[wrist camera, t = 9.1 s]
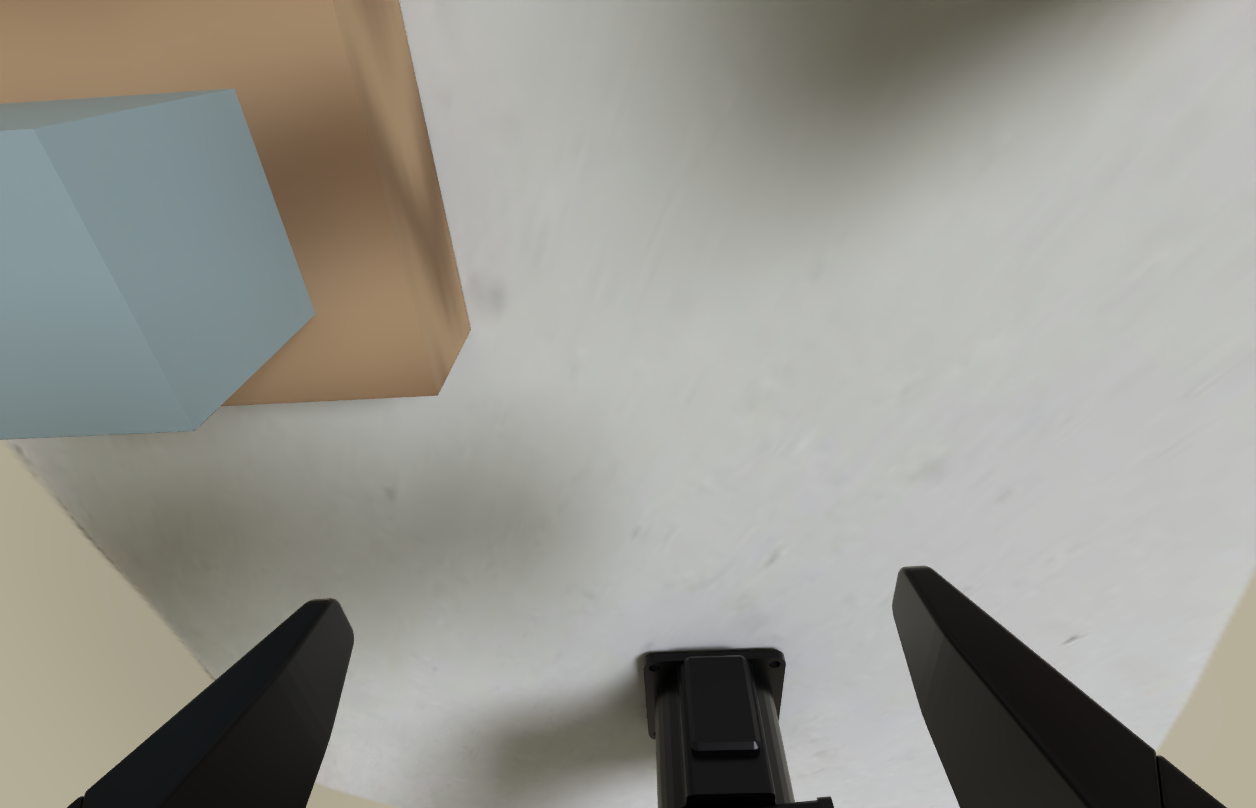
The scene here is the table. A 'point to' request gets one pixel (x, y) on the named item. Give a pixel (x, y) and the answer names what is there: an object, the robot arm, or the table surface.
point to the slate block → (136, 264)
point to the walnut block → (292, 163)
